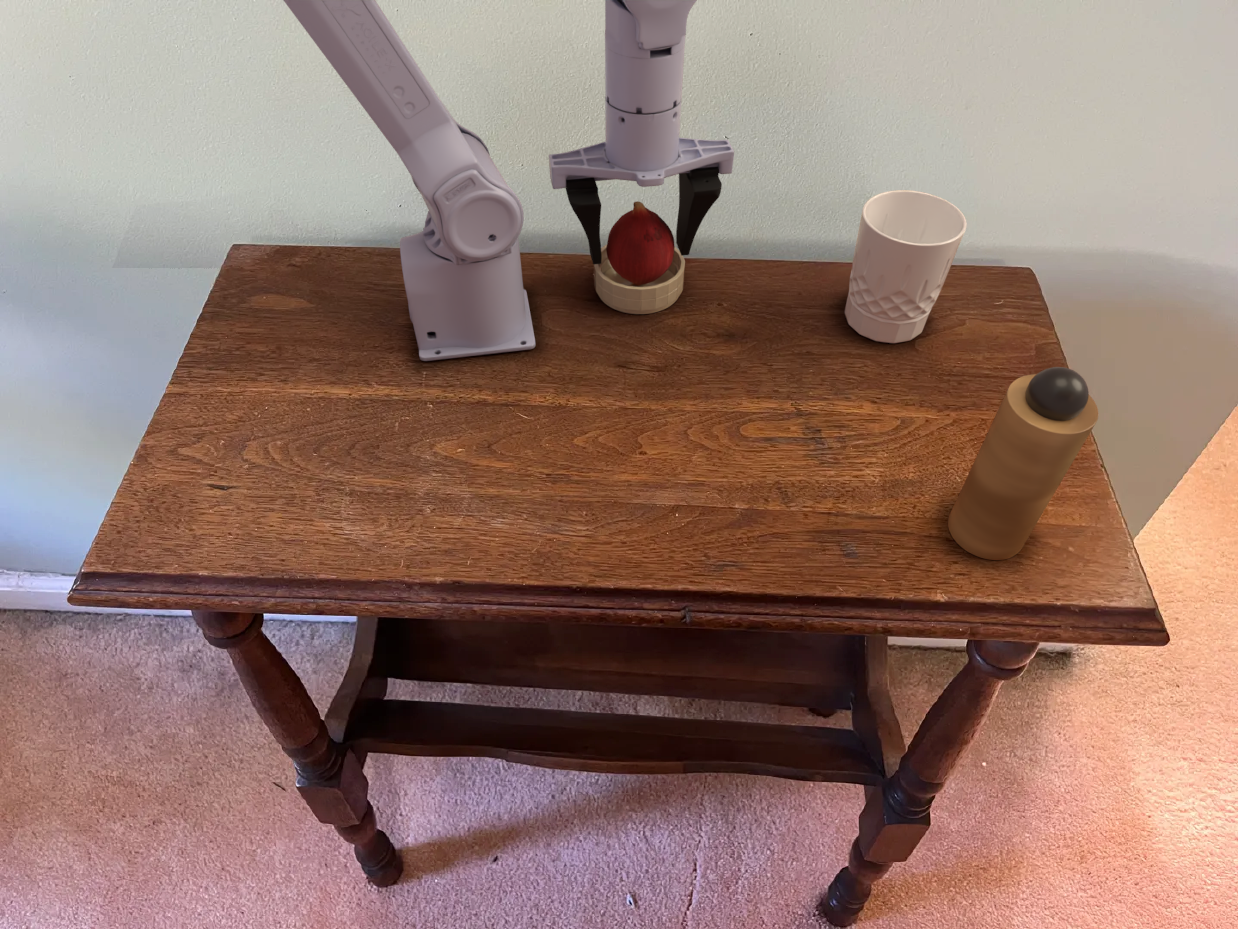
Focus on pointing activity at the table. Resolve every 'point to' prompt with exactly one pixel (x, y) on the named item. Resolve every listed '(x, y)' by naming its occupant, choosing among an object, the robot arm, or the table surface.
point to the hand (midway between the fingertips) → (639, 253)
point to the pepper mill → (1022, 462)
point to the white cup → (901, 263)
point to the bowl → (639, 287)
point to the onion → (640, 245)
